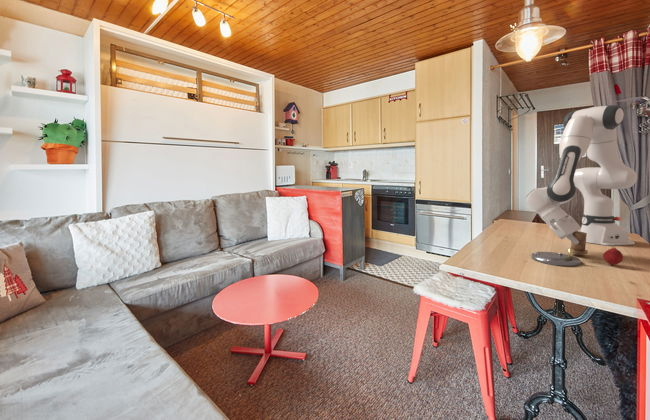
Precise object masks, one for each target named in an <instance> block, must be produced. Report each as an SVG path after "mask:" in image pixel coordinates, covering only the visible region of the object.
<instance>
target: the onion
mask: <svg viewBox="0 0 650 420" xmlns="http://www.w3.org/2000/svg"><path fill="white" fill-rule="evenodd" d="M602 255H603V256H602V257H603V260H604V261H605V263H607V264H608V265H610V266H612V267H613V266H615V265H618V264H620V263H622V261H623V260H624V255H623V253H622V252H621V250H618V249H617V248H616V246H615V245H612V247H611V248H609V249H607V250H606V251H604V252H603V254H602Z"/></svg>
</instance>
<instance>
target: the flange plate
mask: <svg viewBox="0 0 650 420" xmlns="http://www.w3.org/2000/svg"><path fill="white" fill-rule="evenodd" d="M568 248H569V249H568ZM568 248H567V254H565V253H563V252H553V251H535V252H532V253H531V255H530V256H531V259H532V260H534V261H536V262H537V263H538V262H539V263H541V264H545V265H551V266H558V267H577V266H580V265H581V259H579V258H578V257H576V256H574V253H573V249H572V248H571V247H568Z"/></svg>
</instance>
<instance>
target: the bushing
mask: <svg viewBox="0 0 650 420" xmlns="http://www.w3.org/2000/svg"><path fill="white" fill-rule="evenodd" d="M572 235H573V236H574V237H575V238H576V239H578V240H579V241H580V243H578V244H575V243H573V242H572V241H571V240H570V241H571V242H570V247H568V248H567V250H568V249H569V248H572V249H573V254H575V255H576V254H577V255H588V253H589V251H588V250H587V249H586V244H587V242H586V236H587V233H585V232H580V231H578V232H574V233H572Z"/></svg>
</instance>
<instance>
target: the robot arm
mask: <svg viewBox="0 0 650 420" xmlns="http://www.w3.org/2000/svg"><path fill="white" fill-rule="evenodd" d="M624 115H625V112H624V109H623V107H621V106H620V105H616V104H609V105H601V106H600V105H599V106H592V107H588V108H583V109H575V110H573V111H570V112H568V113H567V114H566V115H565V116H564V118H563V123H562V124H563V128H564V130H563V131H562V135H561V137H560V140H559V141H560V142H559V148H558V151H559V152H558V153H559V157H560V160H559V165H558V167H557V171H556V175H555V177H554V178H553V180H552V181H550V183H549V184H548V185H547V186H546V187H541V188H540V187H537V188H534V189H532V190H531V191H530V192H529V193H528V194H527V195H526V197H525V201H526V204H527V205H528V206H529V207H530V209H531V210H532V211H534V212H535V214H538V216H539V217H540V218H541V219H542V221H544V223H546V225H547V226H549V228H550V230H551V231H552V233H554V234H555V236H557V238H559V239H561V240H563V239H565V238H567V239H568V240H569V241H572V242H573V243H575V244H578V243H580V241H579V240H578V239H576V238H575V237H574V236H573V235H572V233H574V232H585V233H587V236H586V243H589V244H594V245H595V244H597V245H602V246H607V247H609V246H626V245H627V246H628V245H630V246H631V245H636V244H635V243H636V242H634V241H633V240H630V239H629V237H630V236H629V232H628V231H627V229H625V228H623V227H622V226H620V225H619V224H617V223H616V221H617V222H620V221H621V220H622V218H621V217H620V216H613V210H614V201H613V199H612V198H611V197H610V196H608V195H605V194H603V193H602V190H601V189H605V190H622V189H629V188H631V187H633V186H634V185H635V184H636V182H637V181H638V174H637V173H636V171H635V169H633V168H631V167H629V166H627V165H626V164H625V163H624V162H623V161H622V160H621V159H620V156H619V153H618V133H617V127H618V126H620V125H621V124H622V122H623V121H624V117H625V116H624ZM585 155H586V156H587V158H588V159H589V160H590V161H592V162H595V163H596V164H598V165H599V166H600V167H596V166H595V167H592V166H591V167H583V168H582V167H581V168H578V167H577V166H578V164H579V161H580V159H582V157H584V156H585ZM576 188H577V189H578V190H579V192H580V193H581V195H582V196H583V201H584V202H583V206H584V207H583V213H582V216H581V226H580V224H579V223H578V222H577V220H575V219H574V218H573V217H572V216H571V213H570V212H568V211H566V210H564V209H562V208H561V207H560V206H562V205H563V204H566V203H568V202H570V201H571V200H572V199H573V197H574V196H575V194H576Z"/></svg>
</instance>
